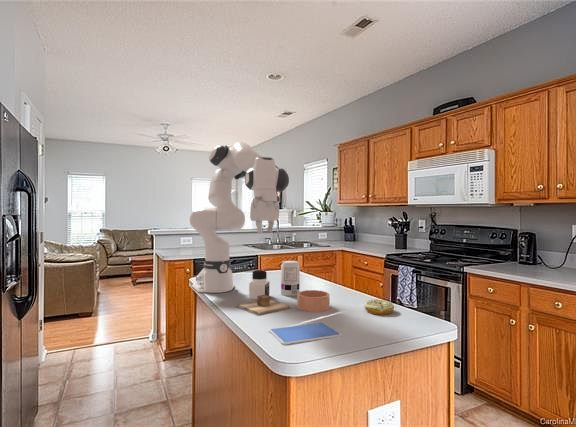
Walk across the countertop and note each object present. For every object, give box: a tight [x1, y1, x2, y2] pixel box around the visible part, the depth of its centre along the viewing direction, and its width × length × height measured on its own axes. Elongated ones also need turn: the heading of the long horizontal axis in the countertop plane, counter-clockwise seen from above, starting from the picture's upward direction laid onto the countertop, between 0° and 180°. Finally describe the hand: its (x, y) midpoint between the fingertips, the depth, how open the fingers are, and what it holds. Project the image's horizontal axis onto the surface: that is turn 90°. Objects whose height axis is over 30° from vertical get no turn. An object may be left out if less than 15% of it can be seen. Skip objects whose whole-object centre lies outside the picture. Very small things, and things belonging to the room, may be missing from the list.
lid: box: [237, 295, 290, 315], centre depth 135 cm, size 14×14×4 cm
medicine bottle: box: [248, 269, 270, 300], centre depth 151 cm, size 7×7×12 cm
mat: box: [234, 305, 293, 317], centre depth 135 cm, size 16×16×1 cm
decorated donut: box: [363, 298, 395, 316], centre depth 132 cm, size 10×11×4 cm
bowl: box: [296, 289, 331, 313], centre depth 135 cm, size 12×12×6 cm
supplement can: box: [280, 260, 301, 297], centre depth 157 cm, size 8×8×15 cm
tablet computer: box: [269, 322, 342, 346], centre depth 108 cm, size 19×13×1 cm, turn 113°
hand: (265, 232), depth 138 cm, fingers open, 8 cm apart
